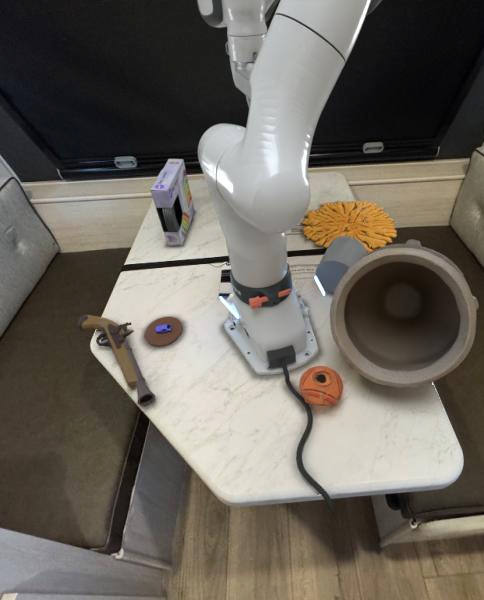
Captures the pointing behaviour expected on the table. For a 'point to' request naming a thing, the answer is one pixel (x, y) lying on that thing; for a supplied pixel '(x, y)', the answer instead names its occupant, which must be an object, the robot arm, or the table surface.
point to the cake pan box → (173, 201)
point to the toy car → (163, 331)
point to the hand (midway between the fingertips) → (254, 116)
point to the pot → (321, 386)
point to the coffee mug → (338, 261)
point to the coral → (350, 224)
